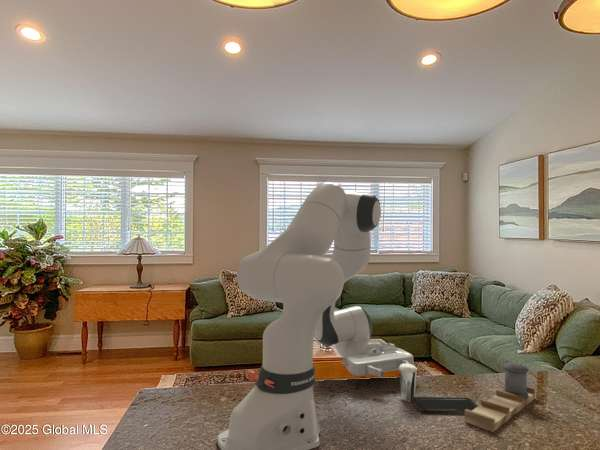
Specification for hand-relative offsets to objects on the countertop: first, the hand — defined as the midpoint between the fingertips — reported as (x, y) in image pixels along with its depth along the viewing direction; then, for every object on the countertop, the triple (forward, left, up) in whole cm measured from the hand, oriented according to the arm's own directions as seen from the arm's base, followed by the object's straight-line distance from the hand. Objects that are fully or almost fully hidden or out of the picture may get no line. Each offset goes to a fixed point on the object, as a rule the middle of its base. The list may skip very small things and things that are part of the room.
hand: (396, 371), depth 112 cm
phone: (+1, -14, -6) cm, 15 cm away
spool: (+19, -24, -4) cm, 31 cm away
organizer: (+10, -24, -5) cm, 27 cm away
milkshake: (-2, -5, -6) cm, 8 cm away
